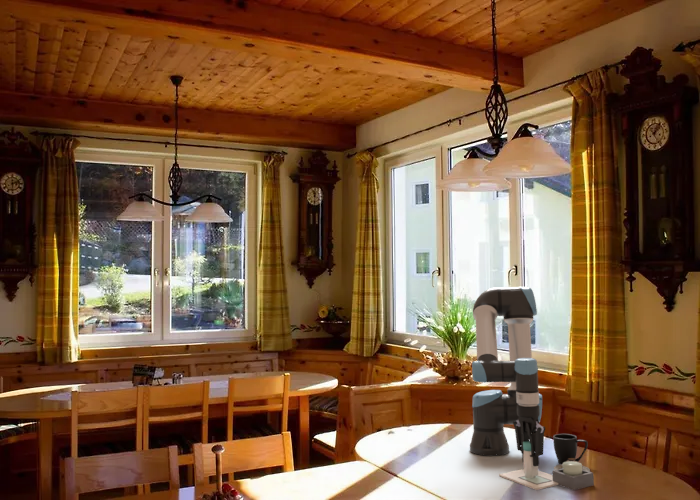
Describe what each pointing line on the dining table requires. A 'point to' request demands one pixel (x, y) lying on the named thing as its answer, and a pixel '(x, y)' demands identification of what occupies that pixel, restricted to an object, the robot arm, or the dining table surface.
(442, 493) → the dining table surface
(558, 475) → the button housing
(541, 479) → the sheet
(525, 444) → the marker
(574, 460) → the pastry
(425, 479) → the dining table surface
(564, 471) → the button
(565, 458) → the mug
